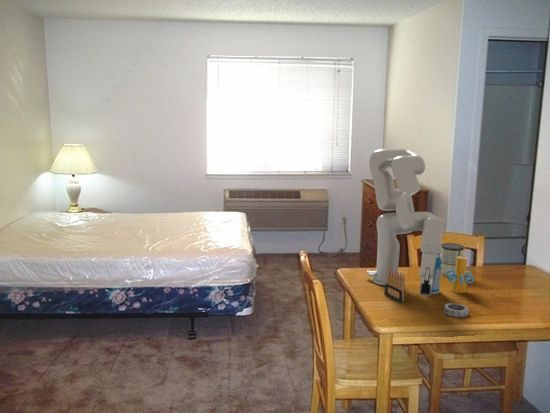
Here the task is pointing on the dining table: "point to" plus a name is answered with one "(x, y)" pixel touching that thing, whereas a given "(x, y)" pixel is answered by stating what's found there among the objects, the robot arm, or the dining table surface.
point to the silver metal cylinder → (430, 286)
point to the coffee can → (450, 257)
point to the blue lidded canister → (436, 275)
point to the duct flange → (456, 310)
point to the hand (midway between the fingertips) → (425, 290)
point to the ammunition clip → (395, 286)
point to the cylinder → (460, 276)
